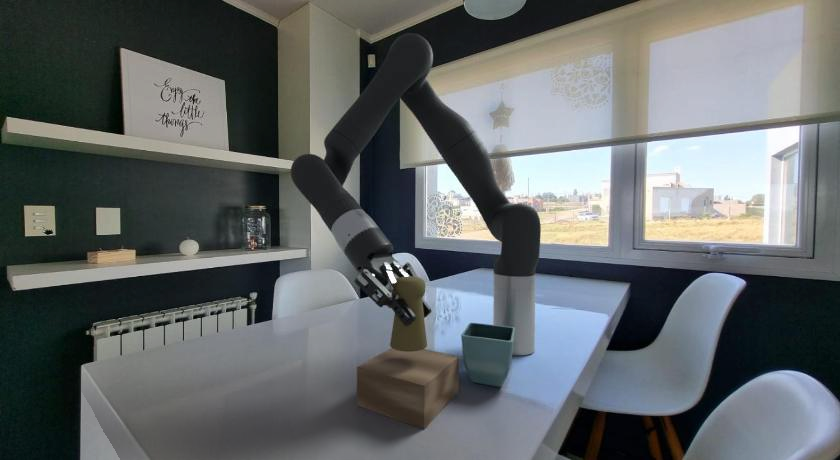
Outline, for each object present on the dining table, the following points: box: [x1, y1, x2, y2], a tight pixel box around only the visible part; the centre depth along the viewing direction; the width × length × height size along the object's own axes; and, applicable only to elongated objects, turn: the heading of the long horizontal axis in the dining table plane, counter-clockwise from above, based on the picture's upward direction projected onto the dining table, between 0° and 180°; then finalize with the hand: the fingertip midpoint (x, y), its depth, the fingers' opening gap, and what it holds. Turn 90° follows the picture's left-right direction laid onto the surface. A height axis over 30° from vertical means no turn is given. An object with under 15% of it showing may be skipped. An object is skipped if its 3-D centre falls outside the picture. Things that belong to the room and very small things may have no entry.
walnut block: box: [356, 347, 460, 430], centre depth 53 cm, size 12×12×6 cm
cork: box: [389, 276, 428, 352], centre depth 53 cm, size 6×6×11 cm
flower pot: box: [460, 322, 515, 388], centre depth 60 cm, size 9×9×9 cm
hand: (419, 318), depth 52 cm, fingers closed on cork, 4 cm apart
